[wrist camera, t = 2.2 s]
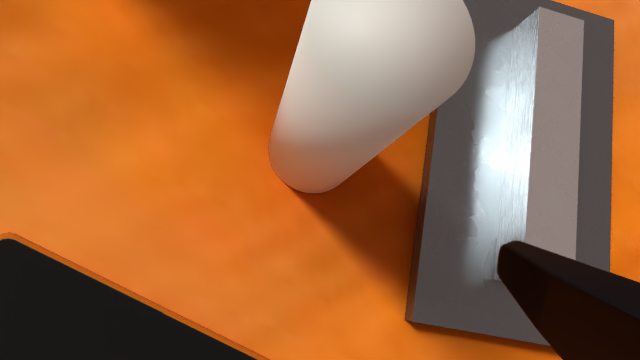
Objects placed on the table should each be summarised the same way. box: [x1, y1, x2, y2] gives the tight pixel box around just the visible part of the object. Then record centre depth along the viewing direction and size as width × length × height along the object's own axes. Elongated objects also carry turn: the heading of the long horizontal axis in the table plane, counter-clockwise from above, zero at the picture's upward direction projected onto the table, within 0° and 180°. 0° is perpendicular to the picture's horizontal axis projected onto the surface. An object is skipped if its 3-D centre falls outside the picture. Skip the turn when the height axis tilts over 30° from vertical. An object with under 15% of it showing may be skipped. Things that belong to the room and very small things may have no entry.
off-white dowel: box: [268, 0, 475, 193], centre depth 19 cm, size 5×5×13 cm
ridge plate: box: [405, 0, 614, 346], centre depth 26 cm, size 22×12×4 cm, turn 170°
